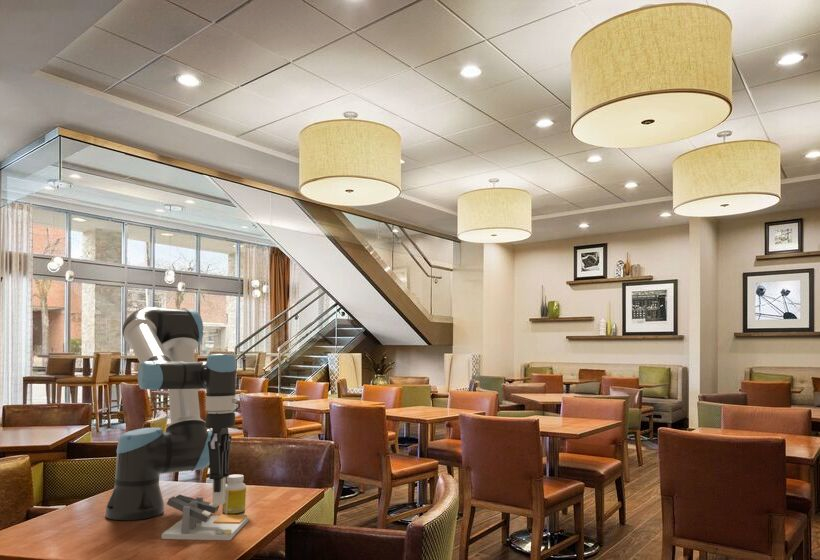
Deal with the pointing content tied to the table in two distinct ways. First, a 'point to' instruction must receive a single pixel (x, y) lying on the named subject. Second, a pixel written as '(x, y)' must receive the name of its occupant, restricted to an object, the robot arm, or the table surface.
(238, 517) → the breaker panel
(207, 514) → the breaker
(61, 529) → the table surface
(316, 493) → the table surface
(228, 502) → the pill bottle
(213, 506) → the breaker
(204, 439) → the robot arm
